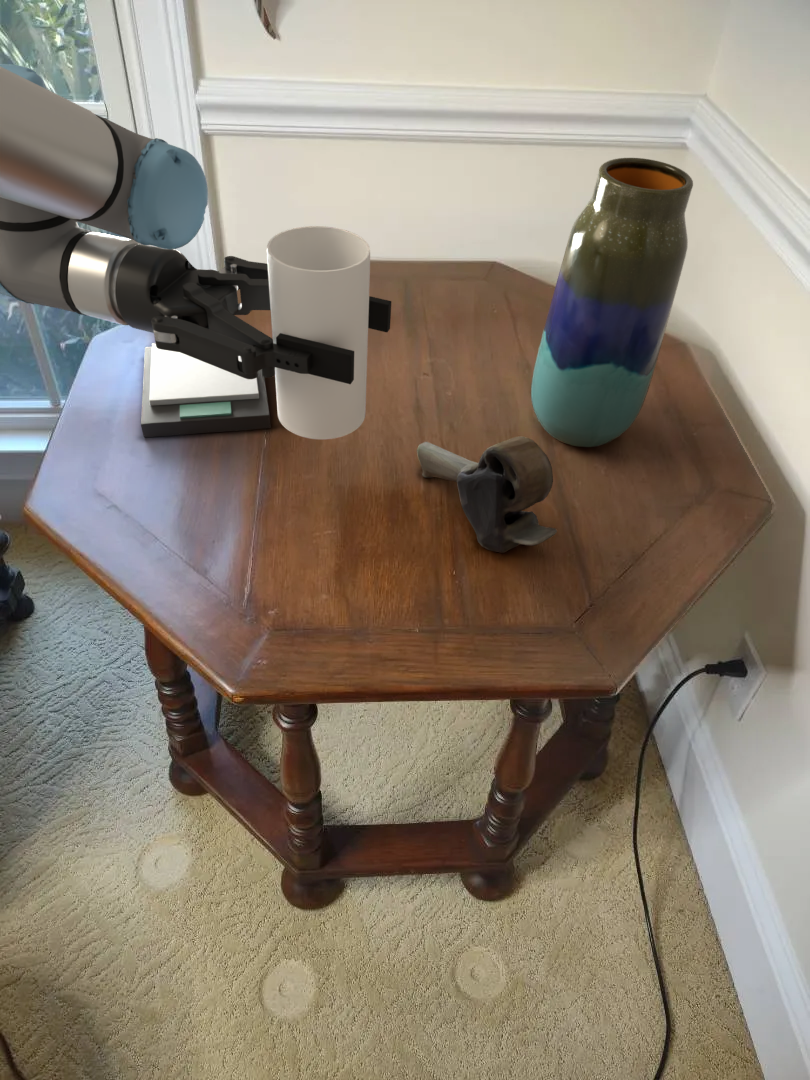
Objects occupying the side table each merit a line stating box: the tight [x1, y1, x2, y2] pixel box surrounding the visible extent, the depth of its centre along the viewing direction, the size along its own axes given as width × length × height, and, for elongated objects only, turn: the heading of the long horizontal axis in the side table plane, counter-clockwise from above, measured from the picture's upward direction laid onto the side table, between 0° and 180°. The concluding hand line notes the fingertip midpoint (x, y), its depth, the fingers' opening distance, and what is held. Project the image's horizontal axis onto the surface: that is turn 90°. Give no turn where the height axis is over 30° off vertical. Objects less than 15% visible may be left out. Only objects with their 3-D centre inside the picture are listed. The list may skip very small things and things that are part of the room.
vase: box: [530, 157, 694, 448], centre depth 87 cm, size 14×14×31 cm
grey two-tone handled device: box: [416, 435, 558, 554], centre depth 82 cm, size 21×6×12 cm, turn 35°
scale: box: [140, 342, 272, 438], centre depth 98 cm, size 15×17×3 cm
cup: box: [266, 225, 371, 440], centre depth 67 cm, size 8×8×16 cm
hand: (371, 341), depth 65 cm, fingers closed on cup, 8 cm apart
